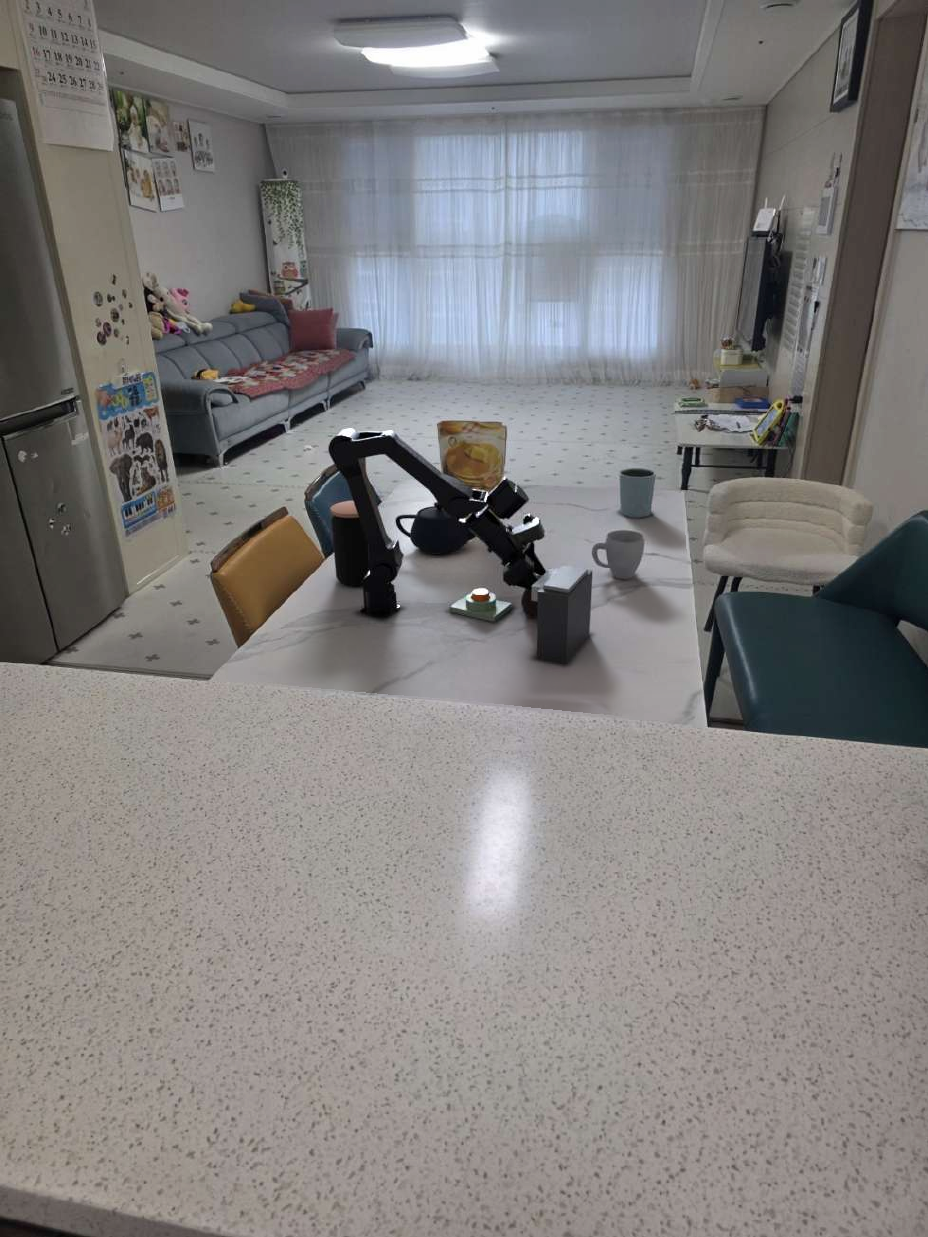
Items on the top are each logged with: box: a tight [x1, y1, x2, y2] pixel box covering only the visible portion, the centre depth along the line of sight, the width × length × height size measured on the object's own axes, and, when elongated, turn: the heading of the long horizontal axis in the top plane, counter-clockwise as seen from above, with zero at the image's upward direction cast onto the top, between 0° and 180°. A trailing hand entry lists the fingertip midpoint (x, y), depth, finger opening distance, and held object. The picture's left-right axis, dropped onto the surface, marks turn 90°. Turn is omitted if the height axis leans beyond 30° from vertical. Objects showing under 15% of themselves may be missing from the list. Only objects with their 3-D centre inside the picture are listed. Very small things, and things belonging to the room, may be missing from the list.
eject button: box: [471, 588, 490, 601], centre depth 177 cm, size 4×4×2 cm
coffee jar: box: [330, 500, 369, 588], centre depth 192 cm, size 11×11×18 cm
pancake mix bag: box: [436, 420, 508, 521], centre depth 229 cm, size 7×19×28 cm, turn 77°
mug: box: [591, 529, 646, 580], centre depth 193 cm, size 12×9×10 cm
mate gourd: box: [520, 574, 542, 619], centre depth 174 cm, size 7×8×10 cm
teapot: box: [394, 501, 477, 555], centre depth 212 cm, size 25×16×12 cm, turn 81°
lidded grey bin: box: [532, 565, 593, 665], centre depth 160 cm, size 8×14×15 cm, turn 154°
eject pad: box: [449, 592, 513, 623], centre depth 178 cm, size 11×8×3 cm
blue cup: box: [618, 467, 657, 519], centre depth 235 cm, size 10×10×12 cm
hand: (546, 584), depth 173 cm, fingers open, 9 cm apart
